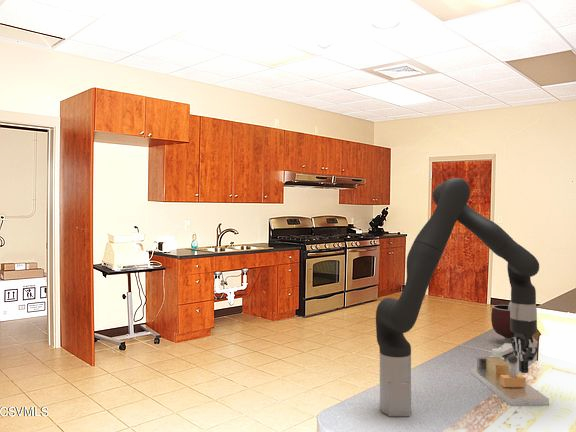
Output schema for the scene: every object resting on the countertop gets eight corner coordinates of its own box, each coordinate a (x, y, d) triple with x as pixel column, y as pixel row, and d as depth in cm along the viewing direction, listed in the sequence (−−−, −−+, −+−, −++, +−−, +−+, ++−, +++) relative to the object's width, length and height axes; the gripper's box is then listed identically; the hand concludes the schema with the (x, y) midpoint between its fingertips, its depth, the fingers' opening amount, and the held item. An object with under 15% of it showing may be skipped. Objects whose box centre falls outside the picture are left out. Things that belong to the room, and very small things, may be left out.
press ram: (525, 387, 153) (525, 355, 153) (504, 387, 153) (504, 355, 153) (521, 383, 156) (520, 353, 156) (500, 383, 156) (499, 353, 156)
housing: (510, 379, 161) (510, 364, 161) (495, 379, 161) (495, 365, 161) (499, 371, 169) (499, 357, 169) (485, 371, 169) (485, 358, 169)
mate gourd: (520, 351, 200) (520, 305, 200) (487, 346, 209) (486, 301, 210) (530, 344, 212) (529, 300, 212) (497, 339, 221) (497, 296, 221)
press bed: (549, 405, 144) (548, 385, 144) (510, 405, 144) (510, 385, 144) (503, 372, 174) (503, 356, 174) (470, 372, 174) (470, 356, 174)
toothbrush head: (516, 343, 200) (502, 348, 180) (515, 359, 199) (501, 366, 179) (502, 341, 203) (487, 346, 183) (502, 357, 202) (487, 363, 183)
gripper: (501, 312, 154) (502, 365, 154) (522, 321, 140) (522, 379, 140) (524, 312, 154) (524, 365, 154) (547, 321, 141) (547, 379, 140)
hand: (523, 372), depth 147 cm, fingers closed
